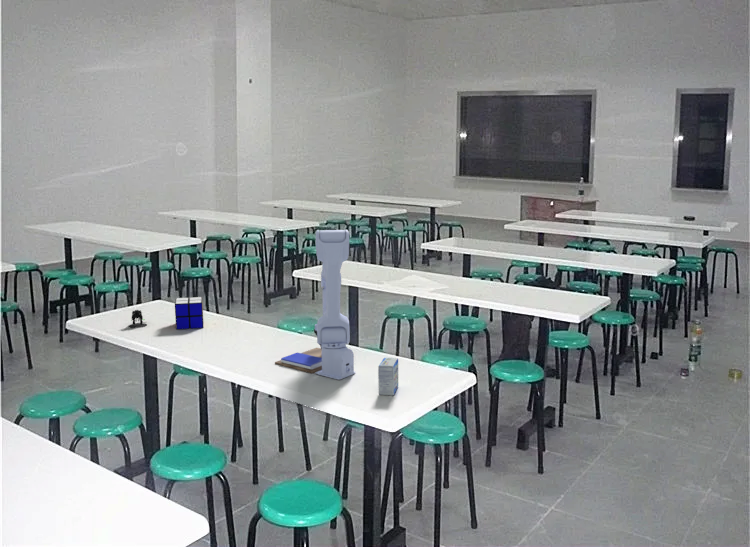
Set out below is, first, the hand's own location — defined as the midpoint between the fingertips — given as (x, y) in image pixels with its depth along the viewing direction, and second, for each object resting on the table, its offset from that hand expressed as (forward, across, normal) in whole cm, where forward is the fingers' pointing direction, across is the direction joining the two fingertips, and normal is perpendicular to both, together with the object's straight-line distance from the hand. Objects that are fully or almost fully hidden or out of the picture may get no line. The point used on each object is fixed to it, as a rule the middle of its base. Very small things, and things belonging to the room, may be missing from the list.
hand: (331, 347), depth 236 cm
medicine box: (+3, +16, +35) cm, 39 cm away
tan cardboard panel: (+2, +8, 0) cm, 9 cm away
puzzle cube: (+3, +4, -67) cm, 67 cm away
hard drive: (+2, +14, 0) cm, 14 cm away
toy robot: (+3, +16, -83) cm, 85 cm away
